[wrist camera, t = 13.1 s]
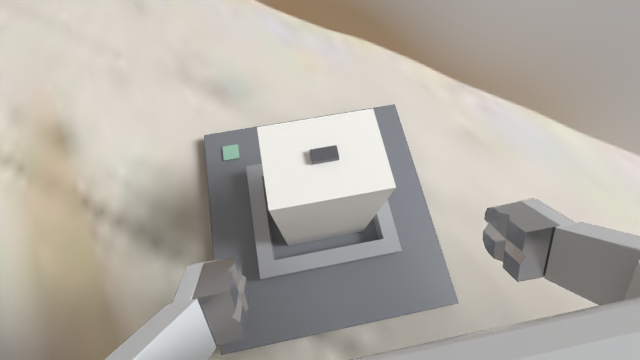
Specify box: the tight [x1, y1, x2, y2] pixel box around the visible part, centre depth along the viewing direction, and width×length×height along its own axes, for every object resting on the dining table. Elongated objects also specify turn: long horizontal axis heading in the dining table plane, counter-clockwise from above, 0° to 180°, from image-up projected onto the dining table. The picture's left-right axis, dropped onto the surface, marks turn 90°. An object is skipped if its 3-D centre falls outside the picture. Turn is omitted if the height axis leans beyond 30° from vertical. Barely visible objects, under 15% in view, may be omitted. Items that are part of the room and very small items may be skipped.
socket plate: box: [204, 104, 458, 355], centre depth 23 cm, size 16×16×2 cm
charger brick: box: [257, 109, 396, 246], centre depth 18 cm, size 6×4×10 cm
